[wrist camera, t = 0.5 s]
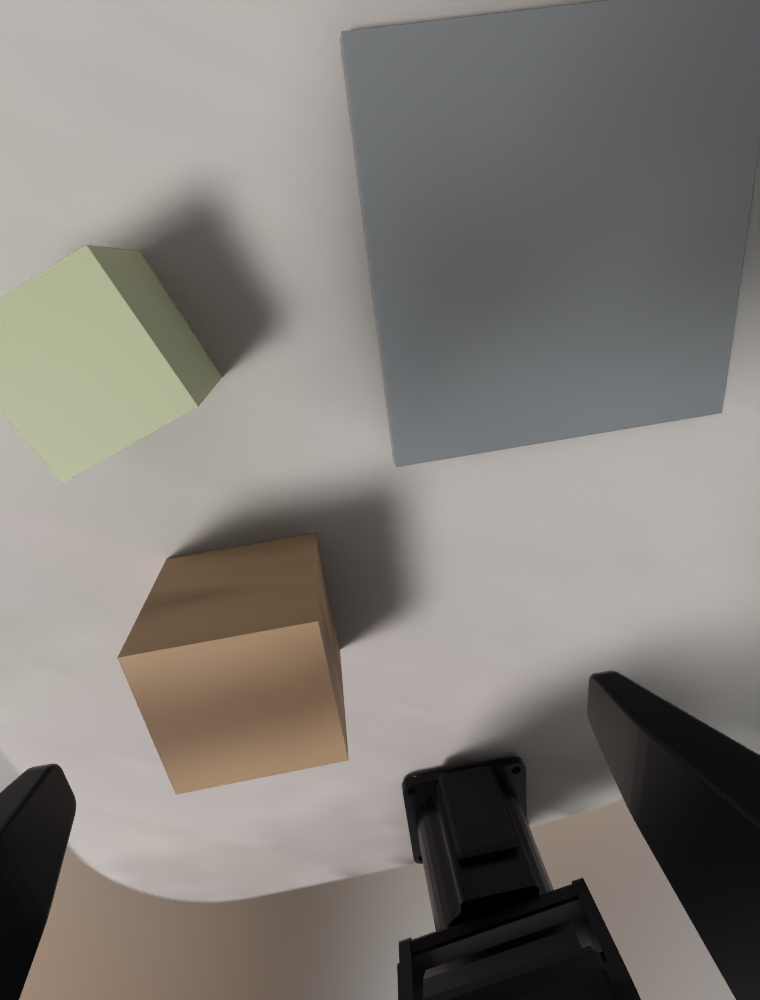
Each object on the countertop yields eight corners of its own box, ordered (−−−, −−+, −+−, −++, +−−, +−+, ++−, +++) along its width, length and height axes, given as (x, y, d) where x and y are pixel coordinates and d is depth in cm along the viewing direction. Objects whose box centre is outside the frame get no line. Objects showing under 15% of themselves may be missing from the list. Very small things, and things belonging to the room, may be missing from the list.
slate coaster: (711, 409, 21) (722, 413, 21) (393, 461, 21) (395, 466, 20) (766, -11, 16) (782, -21, 15) (340, 40, 15) (341, 31, 15)
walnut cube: (339, 648, 24) (348, 759, 18) (206, 673, 24) (175, 794, 18) (316, 532, 21) (318, 621, 16) (167, 557, 21) (117, 657, 16)
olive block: (222, 376, 19) (197, 406, 15) (115, 437, 19) (62, 483, 15) (140, 251, 17) (86, 245, 13) (24, 321, 17) (-66, 337, 13)
